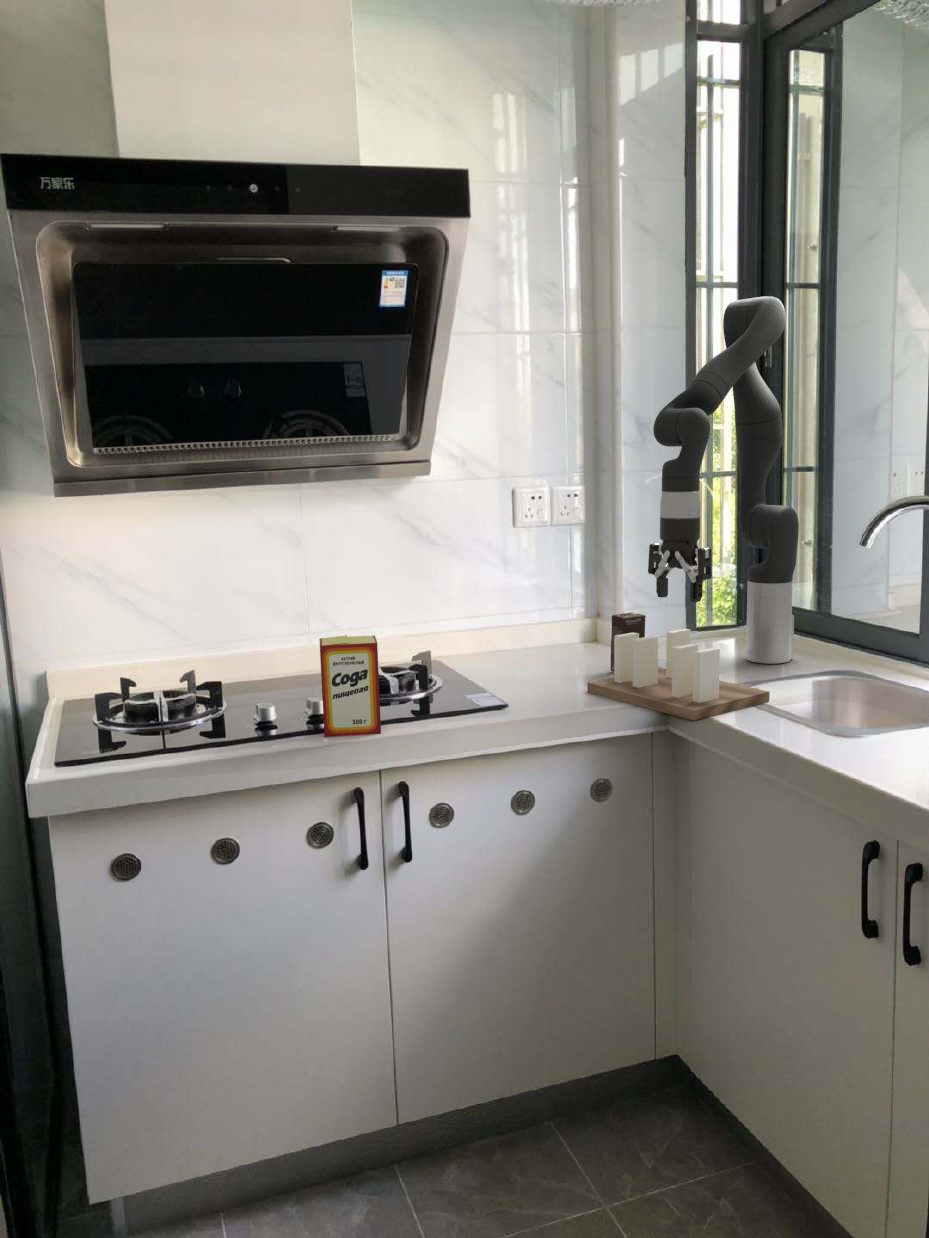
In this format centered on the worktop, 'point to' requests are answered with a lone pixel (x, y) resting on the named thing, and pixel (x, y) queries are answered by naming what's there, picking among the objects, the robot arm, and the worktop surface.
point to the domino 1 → (624, 657)
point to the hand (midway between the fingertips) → (678, 599)
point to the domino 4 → (683, 670)
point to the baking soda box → (350, 685)
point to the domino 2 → (645, 661)
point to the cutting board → (684, 706)
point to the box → (626, 628)
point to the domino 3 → (675, 645)
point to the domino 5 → (706, 675)
